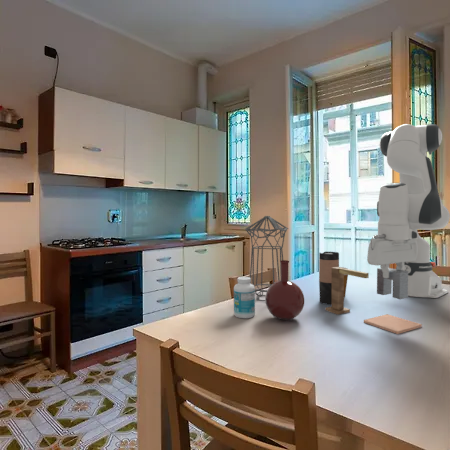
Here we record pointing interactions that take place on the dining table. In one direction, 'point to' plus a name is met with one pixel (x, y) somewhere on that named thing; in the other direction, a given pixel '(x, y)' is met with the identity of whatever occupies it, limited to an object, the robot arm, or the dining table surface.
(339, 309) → the stand
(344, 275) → the disposable coffee cup
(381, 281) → the brushed grey metal block
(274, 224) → the geometric lantern
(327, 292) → the travel mug
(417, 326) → the tile
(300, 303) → the round-bottom flask
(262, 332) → the dining table surface
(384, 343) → the dining table surface
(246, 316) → the pill bottle
